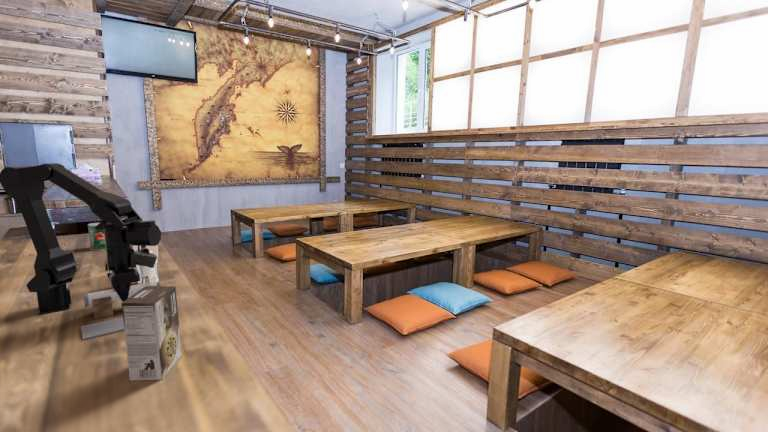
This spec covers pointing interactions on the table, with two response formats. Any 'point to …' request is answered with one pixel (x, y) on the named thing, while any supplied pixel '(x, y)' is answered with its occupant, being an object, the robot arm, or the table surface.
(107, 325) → the mat
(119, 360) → the table surface
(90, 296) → the rail
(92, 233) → the canned tomato
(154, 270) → the beer glass
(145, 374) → the coffee box
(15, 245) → the table surface
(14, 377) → the table surface
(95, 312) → the post left
